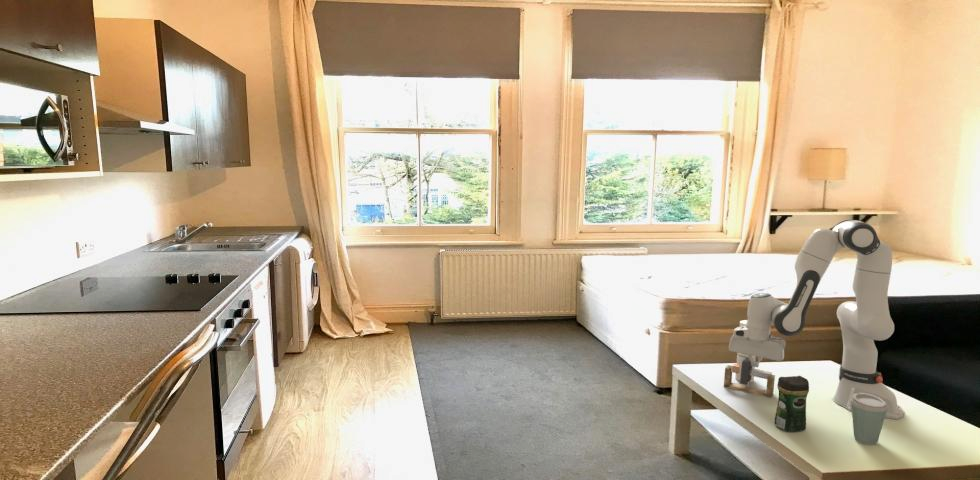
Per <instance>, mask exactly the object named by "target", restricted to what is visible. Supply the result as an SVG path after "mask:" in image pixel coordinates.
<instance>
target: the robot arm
mask: <svg viewBox="0 0 980 480" xmlns="http://www.w3.org/2000/svg"><path fill="white" fill-rule="evenodd" d="M842 249H847V250H850V251H853V252H855V253H856V255H857V257H856V259H857V261H856V265H855V270H854V277H853V280H852V291H853V292H854V295H855V301H852V300H849V301H848V300H847V301H844V302H842V303H841V304H839V305H838V307H837V310H836V317H837V319H838V321H839V325H840V330H841V336H842V345H843V348H842V349H843V350H842V361H841V362H842V363H841V364H840V366H839V367H840V368H839V370H838V371H839V372H838V380H839V381H838V386H837V389H836V390H835V391H836V392H835V394H834V396H833V398H832V400H833V401H834V402H835V403H836V404H837V405H839V406H841V407H843V408H846V409H847V410H848V411H850V412H852V406H851V403H850V399H851V397H852V396H853V394H855V393H867V394H871V395H874V396H876V397H879V398H881V399H882V400H883V401H885V403H886V404H887V406H888V410H887V412H886V415H885V418H888V419H893V420H900V419H901V418H903V417H904V408H902V406H900V405H899V404H898V401H897V397H896V395H895V393H894V392H893V391H892V390H891V389H890V388H889V387H887V385H885V384H884V383H883V375H882V373H881V372H878V371H877V363H878V353H879V352H878V351H879V350H878V349H877V347H876V344H875V341H885V340H888V339H889V338H891V336H892V335H893V334H894V332H895V323H894V321H893V319H892V317H891V314H890V308H889V302H888V301H889V300H888V299H889V298H888V296H889V295H888V291H889V286H890V285H889V284H890V279H891V274H892V273H891V272H892V268H893V267H892V266H893V249H892V247H891V245H889V244H888V243H887V242H885V241H882V240H880V239H879V236H878V234H877V231H876V230H875V228H874V227H873V226H872V225H870V224H869V223H867V222H864V221H861V220H856V219H853V220H852V219H844V220H842V221H840V222H838V223H836V224H835V225H833V226H832V227H830V228H822V227H820V228H817V229H815V230H814V231H812V232H811V234H810V235H809V237H808V238H807V239H806V240H805V242H804V244H803V245H802V246H801V248H800V250H799V252H798V254H797V257H796V259H795V263H794V271H795V274H796V279H797V282H796V286H795V288H794V291H793V293H792V296H791V297H790V300H789V301H788V303H787V302H784V301H781V300H779V299H777V298H775V297H774V296H773V295H771V294H770V293H766V292H758V293H755V294H752V295H751V296H750V297H749V300H748V304H747V310H746V311H747V313H746V315H747V319H746V320H747V323H746V326H742V327H740V326H737V327H735V328H734V329H733V332H732V335H731V337H730V339H729V343H728V350H729V351H730V352H732V353H742V354H746V355H748V358H749V360H750V362H751V364H750V366H754V367H755V368H759V366H760V362H762V360H763V359H767V360H772V361H777V362H781V361H783V360H784V358H785V349H786V346H787V342H786V340H785V339H784V338H783V337H780V336H774V335H771V328H772V327H771V326H774V327H775V329H776V331H777V332H778V333H780V334H781V335H782V336H787V337H793V336H798V335H799V334H800V333H801V332H802V331H803V330H804V328H805V323H806V320H805V319H806V312H807V310H808V308H809V307H810V304H811V302H812V299H813V298H814V295H815V293H816V291H817V290H818V289H817V288H818V286H819V284H820V282H821V281H822V278H823V277H824V276H825V273H826V272H827V270H828V268H829V267H830V264H831V262H832V261H833V259H834V256H835V255H836V254H838V251H840V250H842ZM753 356H756V358H757V360H758V361H756V360H755V361H753V359H752V357H753Z"/></svg>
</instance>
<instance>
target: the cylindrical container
mask: <svg viewBox="0 0 980 480" xmlns="http://www.w3.org/2000/svg"><path fill="white" fill-rule="evenodd" d="M747 320H748V319H744V320H740V321H739V327H742V326H746V323H747ZM736 353H737V352H736ZM746 357H748V355H746V354H742V353H737V355H736V364H738V365H741V366H742V362H743V360H744V359H745V358H746ZM752 358H753V361H755V362H756V358H757V357H756V356H753V357H752ZM752 368H753V369H756V367H754V366H752ZM754 378H755V377H754V376H751V380H750V382H749V383H753V382H754ZM735 379H736V380H737V381H739V382H740V380H741V373H739V374H738V373H735Z"/></svg>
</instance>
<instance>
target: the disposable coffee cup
mask: <svg viewBox="0 0 980 480" xmlns="http://www.w3.org/2000/svg"><path fill="white" fill-rule="evenodd" d="M850 403H851V406H852V411H851V416H852V417H851V418H852V429H853V437H854V440H855V441H856V442H858V443H861V444H863V445H868V446H874V445H876V444H877V443H878V442H879V439H880V436H881V432H882V429H883V425H884V421H885V418H886V417H885V415H886V412H887V410H888V406H887V404H886V403H885V401H883V400H882V399H881V398H879V397H876V396H874V395H871V394H867V393H855V394H853V396H852V397H851V399H850Z"/></svg>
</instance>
